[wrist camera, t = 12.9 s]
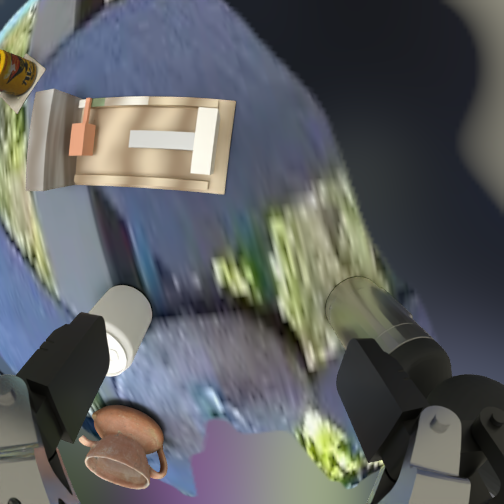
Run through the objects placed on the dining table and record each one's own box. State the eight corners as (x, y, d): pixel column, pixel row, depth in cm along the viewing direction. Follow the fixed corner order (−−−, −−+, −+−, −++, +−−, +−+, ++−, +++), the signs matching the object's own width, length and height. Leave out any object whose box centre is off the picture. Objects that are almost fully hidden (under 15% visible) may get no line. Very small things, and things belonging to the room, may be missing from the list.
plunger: (220, 117, 33) (218, 108, 27) (213, 173, 35) (209, 174, 29) (142, 114, 32) (126, 105, 26) (135, 168, 34) (118, 169, 28)
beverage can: (105, 277, 39) (67, 316, 28) (155, 290, 40) (131, 335, 29) (104, 323, 41) (73, 368, 30) (151, 335, 42) (130, 386, 31)
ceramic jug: (85, 412, 47) (64, 461, 34) (109, 382, 45) (85, 440, 31) (154, 451, 52) (145, 500, 38) (188, 428, 49) (182, 486, 36)
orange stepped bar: (99, 99, 30) (89, 95, 27) (92, 155, 32) (81, 155, 29) (87, 100, 29) (76, 96, 26) (80, 155, 31) (68, 155, 29)
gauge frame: (235, 102, 33) (236, 83, 25) (224, 193, 37) (221, 202, 28) (70, 102, 31) (35, 92, 23) (62, 183, 34) (25, 190, 26)
